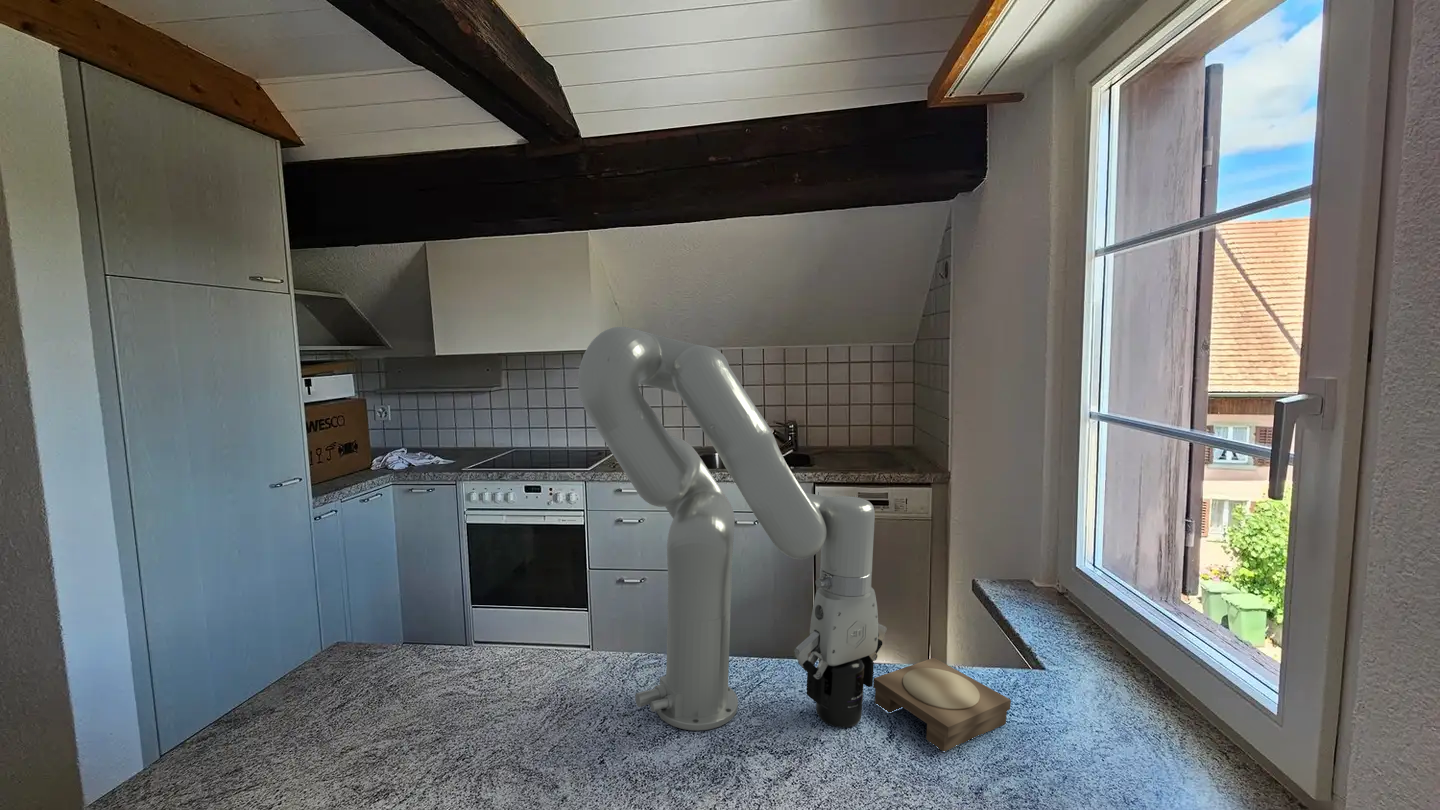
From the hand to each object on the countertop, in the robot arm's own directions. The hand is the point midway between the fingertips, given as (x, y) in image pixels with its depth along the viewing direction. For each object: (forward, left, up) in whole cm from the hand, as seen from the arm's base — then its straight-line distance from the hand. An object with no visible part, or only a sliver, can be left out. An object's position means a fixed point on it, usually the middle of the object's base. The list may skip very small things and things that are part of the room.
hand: (839, 690), depth 89 cm
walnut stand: (+14, -7, -4) cm, 16 cm away
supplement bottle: (0, 0, -4) cm, 4 cm away
